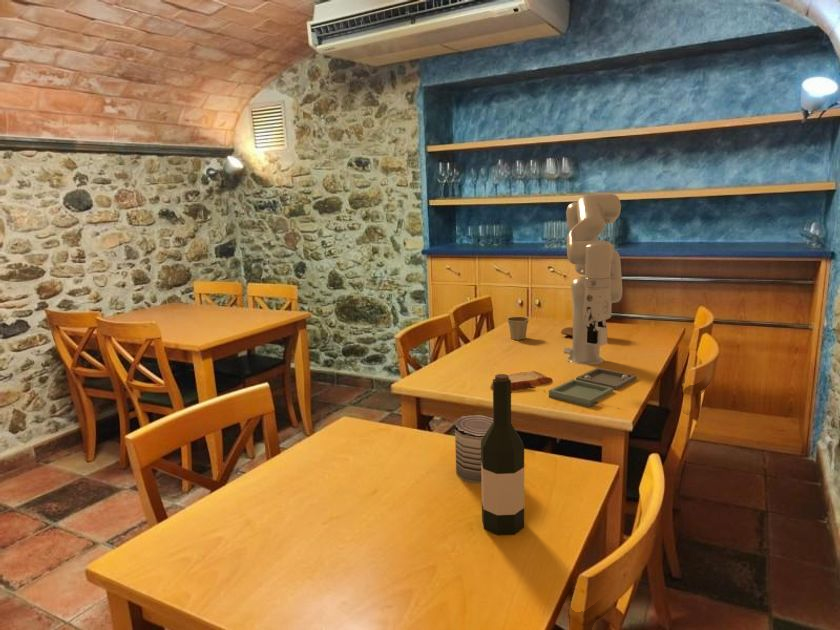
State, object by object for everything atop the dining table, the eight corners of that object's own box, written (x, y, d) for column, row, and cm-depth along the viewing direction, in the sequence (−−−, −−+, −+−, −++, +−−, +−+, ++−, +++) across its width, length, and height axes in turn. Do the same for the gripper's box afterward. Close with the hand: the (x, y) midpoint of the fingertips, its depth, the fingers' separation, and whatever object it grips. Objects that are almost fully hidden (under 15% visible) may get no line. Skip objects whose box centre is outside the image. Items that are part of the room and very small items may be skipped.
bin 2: (575, 384, 194) (576, 376, 193) (597, 373, 203) (597, 366, 203) (616, 393, 184) (616, 384, 184) (636, 381, 194) (636, 374, 193)
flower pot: (507, 335, 260) (506, 316, 258) (528, 335, 259) (528, 316, 257) (507, 341, 251) (507, 321, 249) (529, 341, 250) (529, 321, 248)
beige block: (585, 343, 185) (585, 328, 184) (592, 341, 188) (592, 325, 187) (600, 346, 182) (600, 330, 181) (607, 343, 185) (607, 327, 184)
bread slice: (486, 391, 191) (486, 380, 190) (504, 375, 207) (504, 364, 206) (541, 398, 183) (541, 386, 183) (555, 380, 199) (555, 370, 198)
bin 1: (548, 397, 183) (548, 390, 182) (572, 385, 192) (572, 379, 192) (590, 407, 173) (590, 400, 173) (613, 394, 183) (613, 388, 182)
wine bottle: (495, 540, 110) (493, 386, 103) (473, 518, 117) (471, 373, 111) (533, 529, 113) (533, 378, 107) (509, 508, 120) (509, 366, 114)
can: (467, 457, 144) (466, 410, 142) (511, 465, 139) (511, 417, 136) (447, 477, 134) (445, 428, 132) (494, 487, 129) (494, 436, 126)
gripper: (595, 287, 173) (594, 348, 176) (621, 281, 185) (619, 338, 188) (572, 285, 178) (571, 345, 181) (599, 279, 190) (597, 335, 193)
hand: (596, 341), depth 185 cm, fingers closed on beige block, 4 cm apart
